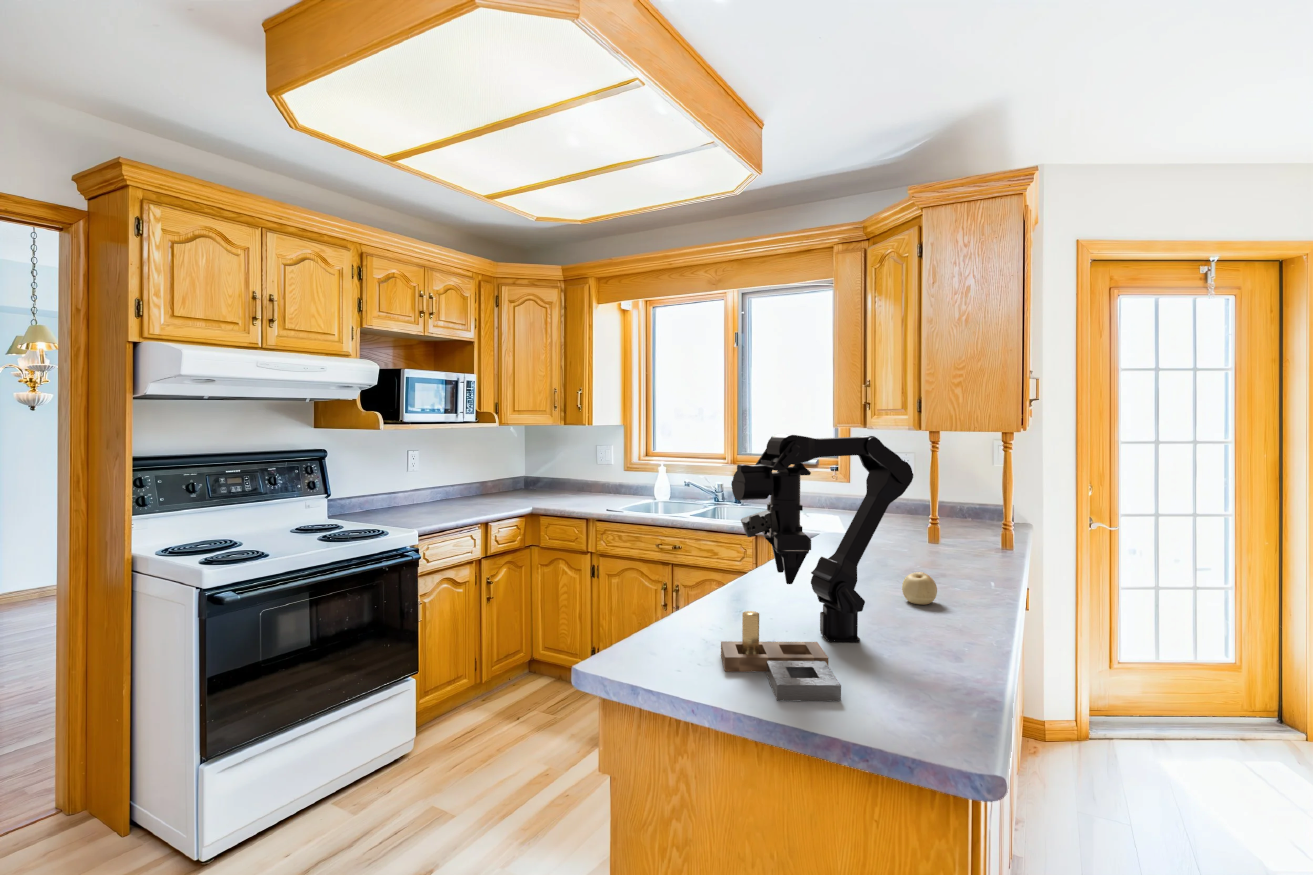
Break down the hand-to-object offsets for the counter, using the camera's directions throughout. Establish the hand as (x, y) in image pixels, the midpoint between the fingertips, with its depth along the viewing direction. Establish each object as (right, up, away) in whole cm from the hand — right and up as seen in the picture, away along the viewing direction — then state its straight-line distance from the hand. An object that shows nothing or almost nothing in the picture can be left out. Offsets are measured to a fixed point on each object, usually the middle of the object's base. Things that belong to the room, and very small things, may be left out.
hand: (784, 577), depth 125 cm
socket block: (-1, -14, -20) cm, 24 cm away
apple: (+38, -13, +29) cm, 50 cm away
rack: (-4, -13, -10) cm, 17 cm away
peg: (-8, -13, -9) cm, 18 cm away
